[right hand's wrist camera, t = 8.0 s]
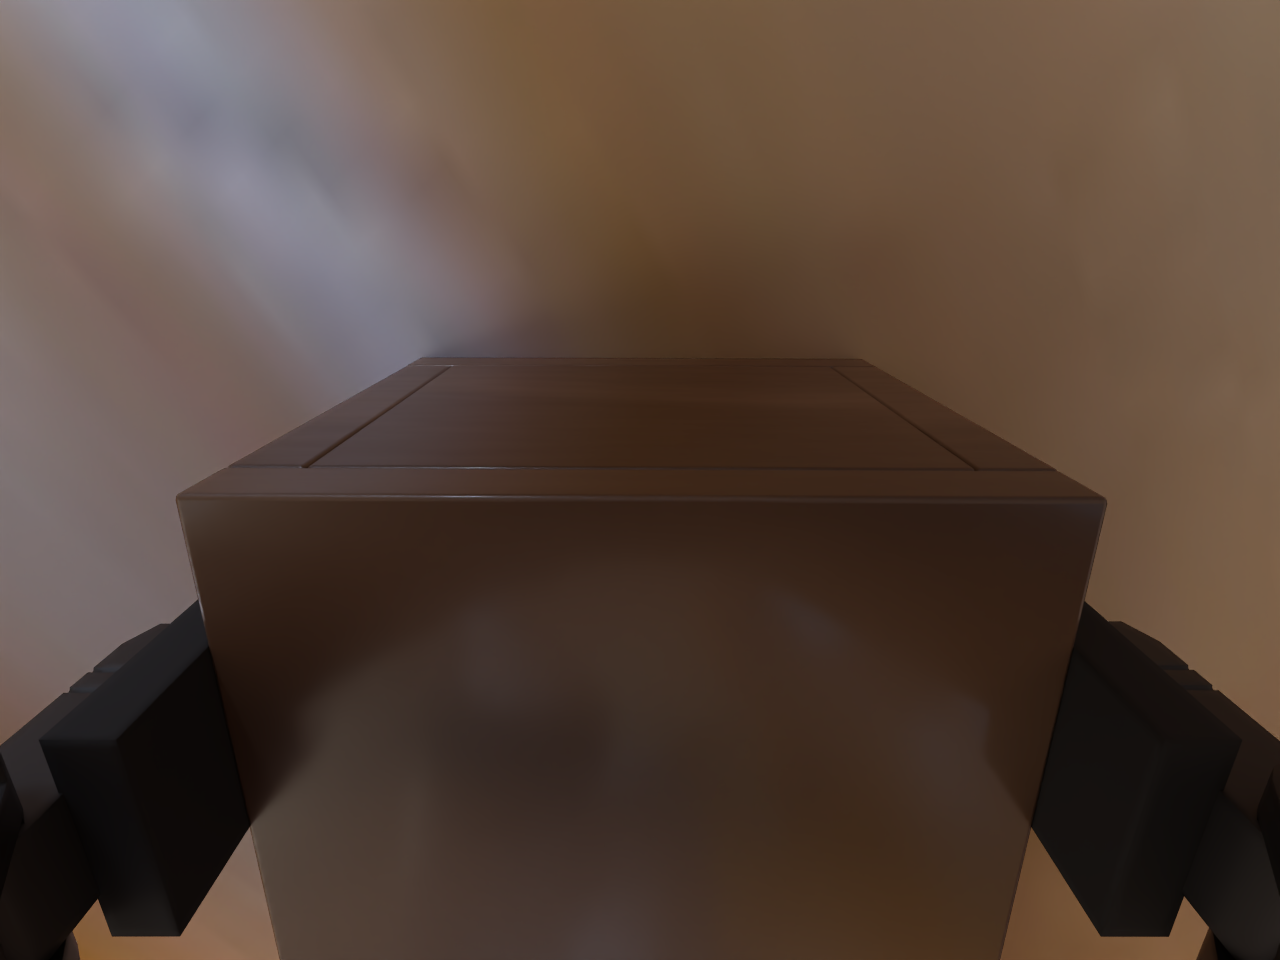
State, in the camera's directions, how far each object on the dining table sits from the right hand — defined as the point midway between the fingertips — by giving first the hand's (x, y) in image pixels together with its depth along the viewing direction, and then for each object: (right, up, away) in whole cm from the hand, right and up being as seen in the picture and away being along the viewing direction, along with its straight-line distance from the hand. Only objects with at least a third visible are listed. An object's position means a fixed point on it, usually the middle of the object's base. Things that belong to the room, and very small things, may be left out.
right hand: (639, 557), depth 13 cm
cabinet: (0, -5, +6) cm, 8 cm away
